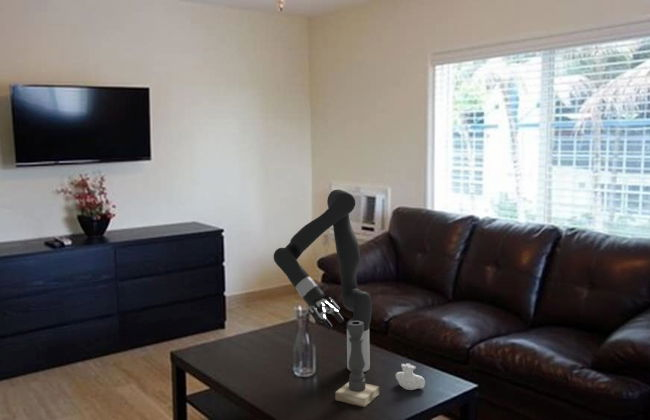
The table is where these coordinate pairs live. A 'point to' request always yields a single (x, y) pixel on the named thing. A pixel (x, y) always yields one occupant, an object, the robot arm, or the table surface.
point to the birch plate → (357, 395)
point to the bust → (409, 378)
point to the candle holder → (356, 356)
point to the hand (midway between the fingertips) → (336, 325)
